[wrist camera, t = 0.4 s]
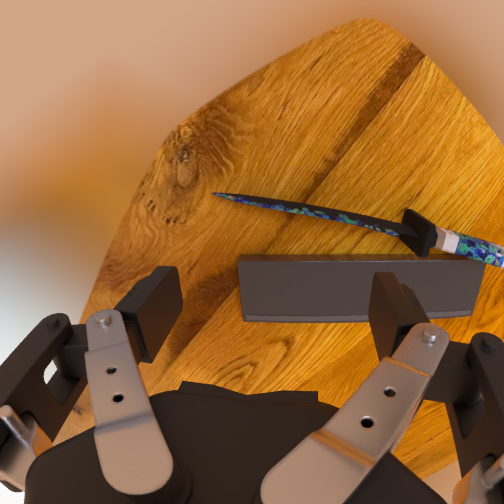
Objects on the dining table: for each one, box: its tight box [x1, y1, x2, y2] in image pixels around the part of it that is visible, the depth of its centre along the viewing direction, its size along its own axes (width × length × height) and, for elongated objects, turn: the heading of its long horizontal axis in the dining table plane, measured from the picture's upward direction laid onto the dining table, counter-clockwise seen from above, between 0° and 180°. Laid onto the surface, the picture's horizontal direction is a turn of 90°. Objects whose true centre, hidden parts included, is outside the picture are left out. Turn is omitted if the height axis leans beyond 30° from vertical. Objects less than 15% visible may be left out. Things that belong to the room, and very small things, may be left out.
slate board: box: [237, 254, 486, 323], centre depth 30 cm, size 7×26×2 cm, turn 94°
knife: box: [211, 193, 504, 269], centre depth 26 cm, size 31×3×4 cm, turn 80°
